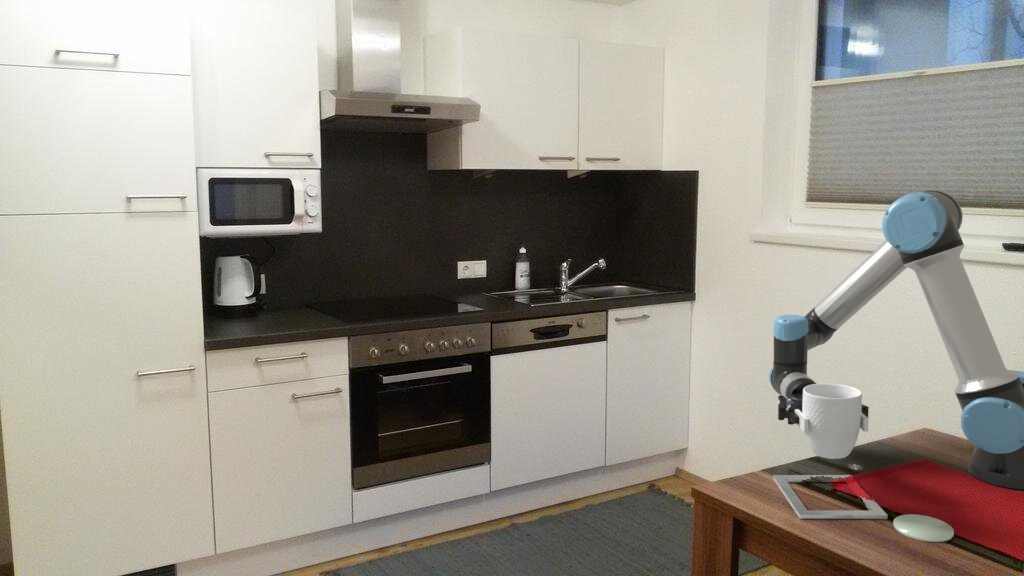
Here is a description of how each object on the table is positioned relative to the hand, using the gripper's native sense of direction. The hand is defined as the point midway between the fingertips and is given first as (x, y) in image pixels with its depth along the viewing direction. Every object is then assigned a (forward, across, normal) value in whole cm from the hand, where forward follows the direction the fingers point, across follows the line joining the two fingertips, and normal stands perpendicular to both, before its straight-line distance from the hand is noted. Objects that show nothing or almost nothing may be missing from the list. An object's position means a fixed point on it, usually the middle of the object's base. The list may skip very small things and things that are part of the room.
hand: (836, 425), depth 155 cm
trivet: (+10, -13, -17) cm, 24 cm away
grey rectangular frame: (-4, 0, -17) cm, 17 cm away
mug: (-4, 0, -7) cm, 8 cm away
